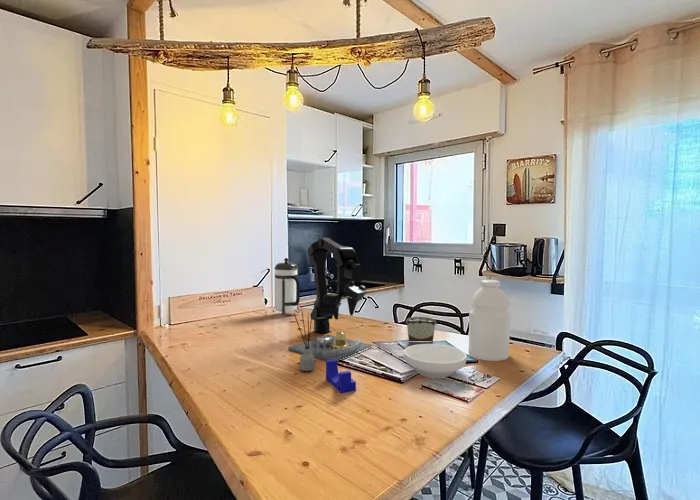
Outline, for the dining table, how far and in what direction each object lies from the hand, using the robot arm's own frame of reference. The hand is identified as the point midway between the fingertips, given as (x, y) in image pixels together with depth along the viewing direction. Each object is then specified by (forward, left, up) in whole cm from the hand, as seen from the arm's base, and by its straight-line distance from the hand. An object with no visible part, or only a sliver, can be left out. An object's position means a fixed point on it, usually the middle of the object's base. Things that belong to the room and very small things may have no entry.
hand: (344, 317), depth 158 cm
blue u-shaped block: (+26, -33, -11) cm, 44 cm away
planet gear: (+6, -9, -10) cm, 14 cm away
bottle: (+51, +20, -11) cm, 56 cm away
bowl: (+44, -8, -11) cm, 46 cm away
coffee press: (-60, +25, -11) cm, 66 cm away
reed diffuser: (+9, -32, -11) cm, 35 cm away
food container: (+23, +21, -11) cm, 33 cm away
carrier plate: (+1, -9, -11) cm, 14 cm away
